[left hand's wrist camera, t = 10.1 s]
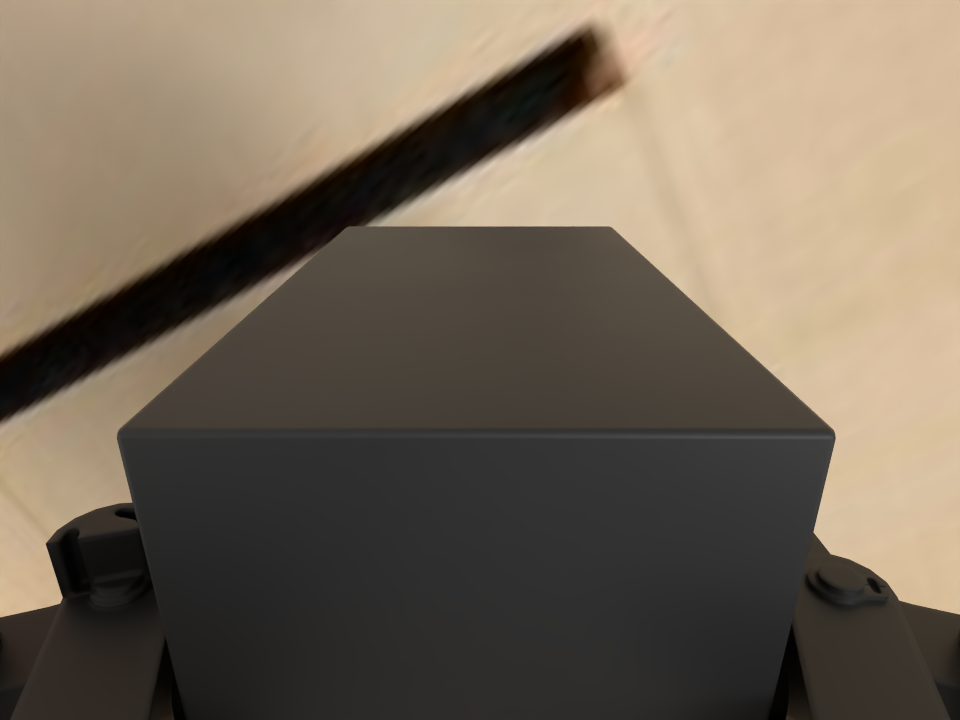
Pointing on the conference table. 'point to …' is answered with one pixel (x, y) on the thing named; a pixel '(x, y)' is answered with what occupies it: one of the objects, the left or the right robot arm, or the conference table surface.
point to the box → (476, 492)
